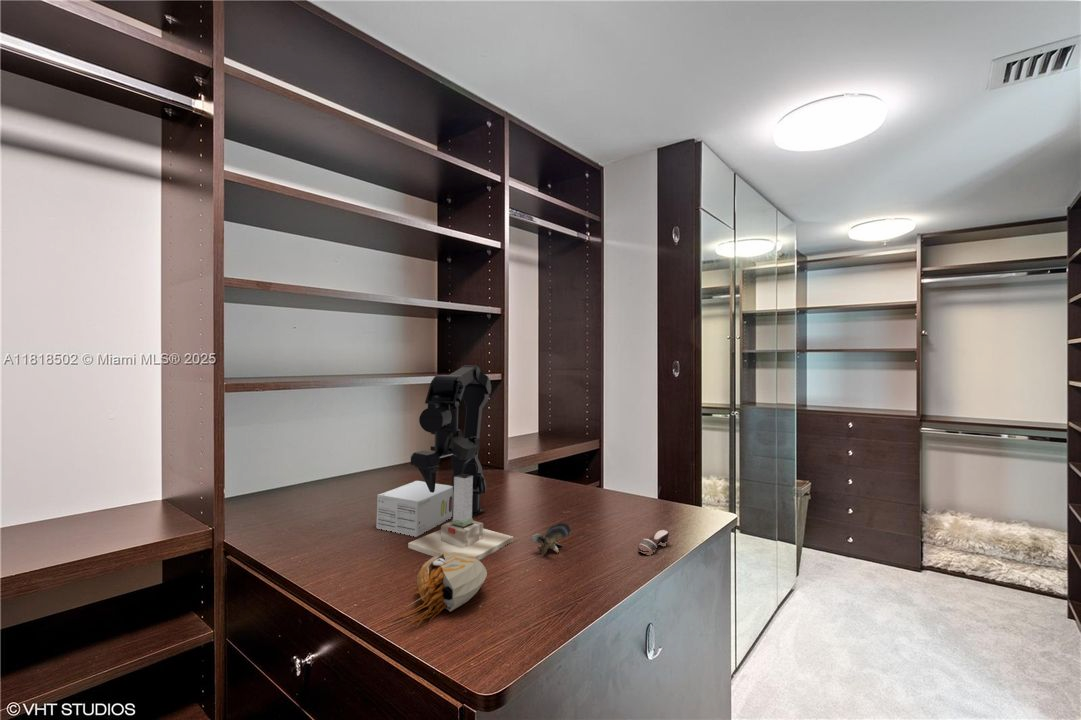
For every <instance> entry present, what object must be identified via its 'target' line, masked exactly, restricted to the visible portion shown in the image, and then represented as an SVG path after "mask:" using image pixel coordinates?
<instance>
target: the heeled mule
mask: <svg viewBox="0 0 1081 720" xmlns="http://www.w3.org/2000/svg"><path fill="white" fill-rule="evenodd" d="M669 535H670V531H669V530H668V529H660V530H658V531H656V532H655V533H653V535H652V536H651V537H650V538H643V539H642V540H641V541H640V542H639V544H638V547H637V551H638V550H639V551H642V552H649V551H643V550H641V549H640V548H639V545H643V546H645V547H647V548H648V549H649V550H650V551H653V550H655V549H656V548H657V549H658V547H659V545H658V544H659V543H660V542H662V543H665V542H667V543H668V541H669ZM657 549H656V550H657ZM639 551H638V552H639Z"/></svg>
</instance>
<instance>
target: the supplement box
mask: <svg viewBox="0 0 1081 720" xmlns="http://www.w3.org/2000/svg"><path fill="white" fill-rule="evenodd" d="M376 498H377V500H376V522H375V523H376V524H375V525H376V527H375V528H376V529H378V530H381V529H382V530H381V531H386V530H387V532H390V531H392V533H395V532H396V534H400V533H401V534H400V535H404V534H405V536H409V535H410V537H413V536H414V538H417V537H419V536H421V535H423V534H425V533H426V531H427V532H428V531H430V530H432V529H433V528H434V529H435V528H436V527H438V526H439V525H441V524H443V523H445V522H447V521H448V519H449V520H450V519H452V518H453V506H454V493H453V485H449V484H443V483H442V484H441V483H436V482H435V491H434V492H433V493H432V492H430V491H429V489H428V487H427V484H426V482H425V481H424V480H423V481H422V480H414V481H411V482H410V483H406V484H404V485H401V486H398V487H396V488H393V489H390V490H387V491H385V492H382V493H380V494H379V493H378V494H377V497H376ZM451 517H452V518H451ZM446 520H447V521H446ZM437 525H438V526H437ZM424 532H425V533H424Z"/></svg>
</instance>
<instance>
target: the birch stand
mask: <svg viewBox="0 0 1081 720" xmlns="http://www.w3.org/2000/svg"><path fill="white" fill-rule="evenodd" d="M511 542H512V543H514V536H512V535H509V534H505V533H501V532H497V531H493V530H490V529H487V528H484V523H483V522H481V521H476V520H473V523H471V524H469V525H467V526H464V527H461V526H457V525H454V524H452V520H451V521H449V522H446V523H444V524H442V525H441V524H440V529H439V530H437V531H434V532H432V533H429V534H427V535H424V536H422V537H419V538H417V539H415V540H412V541H410V542H408V543H407V545H408V546H407V547H408V549H410V550H413V551H416V552H419V553H421V554H425V555H428V556H431V557H435V556H437V555H439V554H442V553H446V552H457V553H463V554H467V555H470V556H473V557H475V558H476V559H478V560H479V561H480V560H482V559H484V558H485V557H488V556H489V555H492V554H493V553H495V552H497V551H499V550H501V549H502V548H504V547H506V546H508V545H510V544H511ZM509 543H510V544H509ZM507 544H508V545H507ZM505 545H506V546H505ZM500 548H501V549H500Z"/></svg>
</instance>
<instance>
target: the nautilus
mask: <svg viewBox="0 0 1081 720" xmlns="http://www.w3.org/2000/svg"><path fill="white" fill-rule="evenodd" d="M487 576H488V571H487V569H486V566H484V564H483V563H482V561H480V560H478V559H476V558H475V557H473V556H470V555H467V554H463V553H457V552H446V553H442V554H439V555H437V556H435V557H433V556H431V558H429V559H428V560H427V561H425V562H424V564H423V565H422V566H421V569H420V570H419V571H418V573H417V576H416V586H414V587H412V588H409V589H408V590H406V591H405V593H407V592H410V591H412V590H415V589H416V588H417V589H418V590H417V591H415V592H413V593H411V594H409V595H408V596H409V597H410V596H412V595H414V594H415V595H417V594H419V596H420V597H419V598H418V599H415V601H413V602H411V603H409V604H408V605H406V606H404V607H403V608H407V607H409V606H411V605H413V604H415V603H416V602H418V601H420V600H422V602H423V603H422V605H421V604H419V606H418V607H415V608H414V609H413V610H411V611H409V612H407V613H405V614H403V615H400V616H399V618H402V617H403V618H405V617H407V616H409V615H412V614H415V613H417V612H419V611H420V610H422V609H424V608H428V609H426V610H425V611H423V612H422V613H420V614H418V615H416V616H415V617H412V618H411V620H406V623H407V622H408V623H407V624H405V625H403V627H406V626H408V625H411V624H413V623H414V622H418V621H419V622H418V624H417V625H416V627H418V626H419V625H420V624H421V622H422V621H423V620H425V619H429V618H430V620H429V622H428V624H430V623H431V621H432V620H433V619H434V617H435V616H436V615H438V614H440V613H441V611H443V610H445V609H446V610H447V611H448V612H452V611H454V610H456V609H457V608H459V607H461V606H463V605H464V604H465V603H467V602H468V601H470V599H472V598H473V597H474V596H475V595H476V594H477V593H478V591H479V590H480V588H481V587H482V585H483V584H484V582H485V580H486V578H487ZM433 608H434V609H433ZM436 612H437V613H436ZM429 614H430V615H429ZM415 618H416V619H415Z"/></svg>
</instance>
